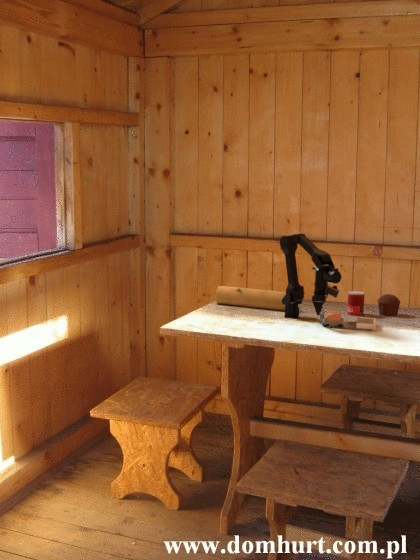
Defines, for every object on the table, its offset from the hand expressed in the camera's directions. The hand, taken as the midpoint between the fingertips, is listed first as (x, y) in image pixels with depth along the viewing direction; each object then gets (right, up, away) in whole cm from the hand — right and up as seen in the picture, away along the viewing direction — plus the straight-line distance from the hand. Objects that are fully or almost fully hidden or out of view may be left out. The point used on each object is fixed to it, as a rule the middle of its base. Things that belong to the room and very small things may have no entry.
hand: (319, 313), depth 372 cm
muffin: (+38, -2, +27) cm, 47 cm away
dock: (+15, -7, -2) cm, 17 cm away
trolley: (+6, -5, 0) cm, 8 cm away
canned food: (+22, -2, +27) cm, 34 cm away
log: (-29, +1, +41) cm, 50 cm away
